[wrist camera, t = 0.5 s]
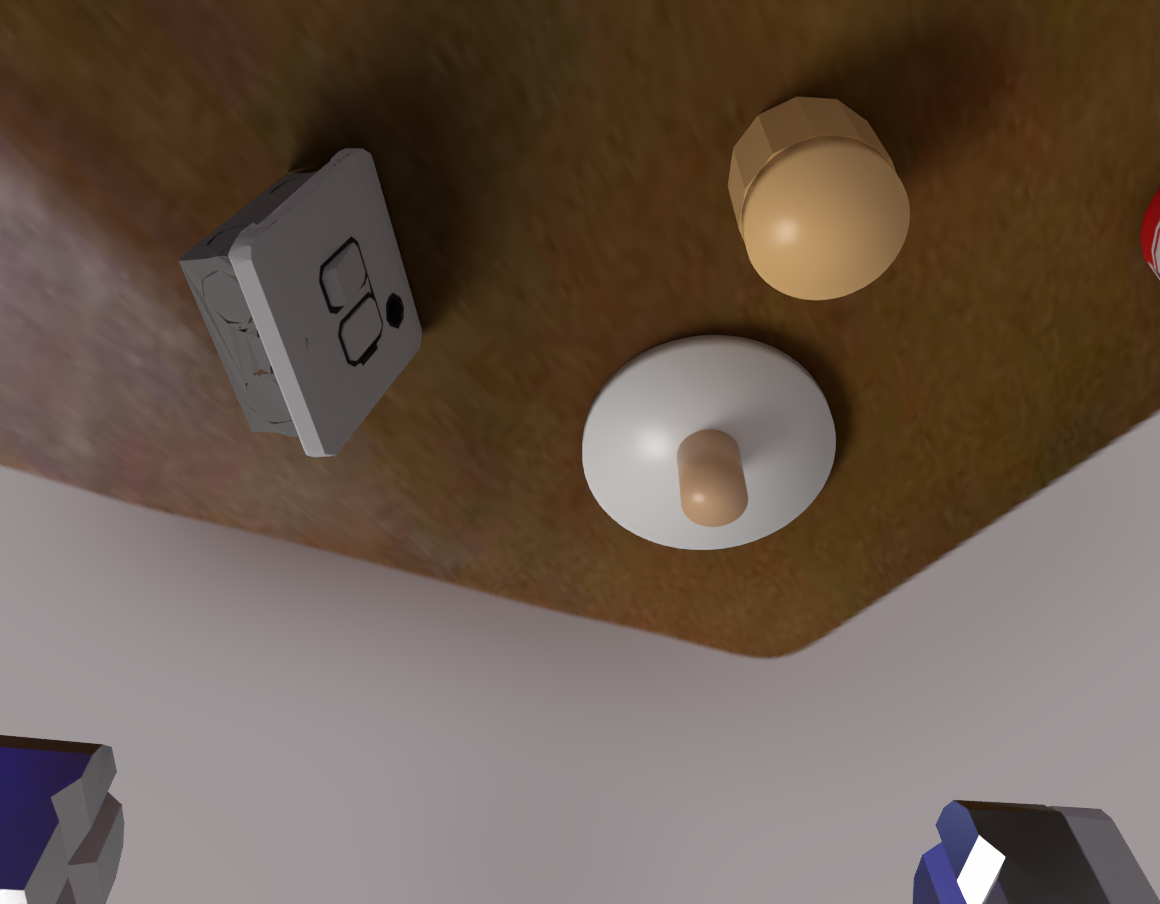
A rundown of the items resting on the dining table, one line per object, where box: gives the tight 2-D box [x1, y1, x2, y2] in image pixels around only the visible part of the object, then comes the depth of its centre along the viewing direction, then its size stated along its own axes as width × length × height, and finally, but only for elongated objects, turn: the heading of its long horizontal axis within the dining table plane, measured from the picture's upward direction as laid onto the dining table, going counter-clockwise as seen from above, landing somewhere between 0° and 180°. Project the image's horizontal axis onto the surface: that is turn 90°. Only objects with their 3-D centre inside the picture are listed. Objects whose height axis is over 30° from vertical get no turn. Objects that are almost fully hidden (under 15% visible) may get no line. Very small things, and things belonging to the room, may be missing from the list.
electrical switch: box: [179, 148, 422, 457], centre depth 41 cm, size 9×5×9 cm, turn 9°
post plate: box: [582, 335, 836, 550], centre depth 48 cm, size 12×12×4 cm
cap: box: [728, 97, 910, 300], centre depth 40 cm, size 6×6×6 cm
